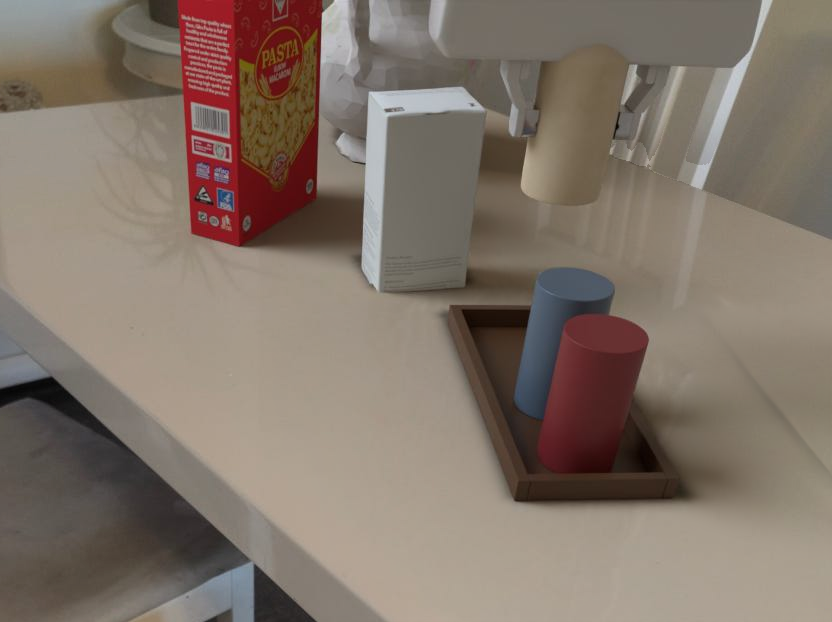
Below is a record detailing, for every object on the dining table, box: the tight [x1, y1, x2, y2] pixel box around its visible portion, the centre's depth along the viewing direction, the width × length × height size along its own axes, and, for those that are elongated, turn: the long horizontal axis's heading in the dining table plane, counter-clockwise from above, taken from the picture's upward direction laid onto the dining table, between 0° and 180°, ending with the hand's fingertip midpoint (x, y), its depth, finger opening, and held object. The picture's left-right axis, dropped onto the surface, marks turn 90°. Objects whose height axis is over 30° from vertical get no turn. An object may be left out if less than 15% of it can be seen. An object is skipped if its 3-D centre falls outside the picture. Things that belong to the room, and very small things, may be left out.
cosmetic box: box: [361, 87, 488, 293], centre depth 81 cm, size 8×6×15 cm
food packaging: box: [177, 0, 324, 247], centre depth 86 cm, size 15×5×25 cm, turn 153°
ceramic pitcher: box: [319, 0, 484, 164], centre depth 102 cm, size 22×20×25 cm
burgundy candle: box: [537, 314, 650, 474], centre depth 63 cm, size 5×5×9 cm
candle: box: [520, 44, 630, 207], centre depth 64 cm, size 6×6×10 cm
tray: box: [447, 304, 680, 502], centre depth 71 cm, size 11×25×2 cm, turn 6°
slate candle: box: [514, 266, 616, 420], centre depth 68 cm, size 5×5×9 cm
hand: (570, 136), depth 65 cm, fingers closed on candle, 5 cm apart
